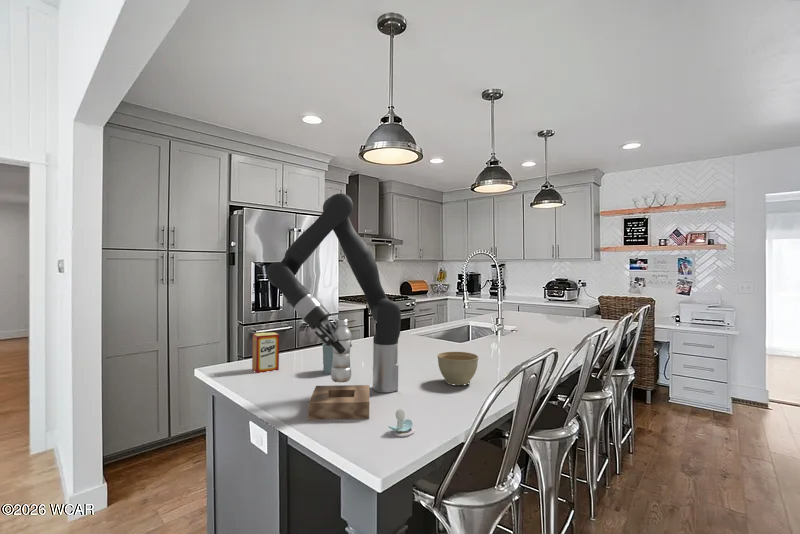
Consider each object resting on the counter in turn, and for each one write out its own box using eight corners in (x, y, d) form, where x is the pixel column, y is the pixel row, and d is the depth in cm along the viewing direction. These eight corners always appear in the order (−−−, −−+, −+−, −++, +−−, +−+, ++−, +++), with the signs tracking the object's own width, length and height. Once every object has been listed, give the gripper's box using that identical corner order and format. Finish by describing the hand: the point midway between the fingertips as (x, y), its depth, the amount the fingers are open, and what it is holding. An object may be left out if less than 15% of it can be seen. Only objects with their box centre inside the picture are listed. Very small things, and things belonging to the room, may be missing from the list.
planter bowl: (476, 378, 163) (476, 351, 163) (480, 390, 147) (480, 360, 147) (437, 376, 164) (437, 350, 164) (436, 388, 148) (437, 359, 148)
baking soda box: (274, 366, 176) (274, 331, 176) (278, 370, 171) (279, 333, 171) (252, 369, 171) (252, 333, 171) (256, 373, 165) (256, 335, 166)
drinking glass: (321, 369, 173) (321, 342, 173) (343, 368, 176) (344, 341, 176) (323, 375, 163) (323, 346, 163) (347, 374, 166) (348, 345, 166)
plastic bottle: (341, 377, 130) (342, 317, 130) (355, 381, 125) (356, 319, 125) (326, 381, 125) (326, 319, 125) (340, 386, 120) (341, 321, 120)
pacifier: (419, 433, 108) (404, 425, 113) (420, 410, 108) (405, 404, 112) (399, 440, 103) (385, 432, 108) (400, 417, 103) (386, 410, 108)
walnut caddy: (369, 399, 134) (369, 385, 134) (369, 418, 117) (369, 402, 117) (315, 400, 133) (316, 385, 133) (308, 419, 116) (308, 403, 116)
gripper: (310, 305, 119) (347, 346, 117) (327, 301, 133) (361, 338, 131) (294, 322, 120) (330, 363, 118) (313, 316, 134) (345, 353, 132)
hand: (346, 349), depth 125 cm, fingers closed on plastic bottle, 6 cm apart
